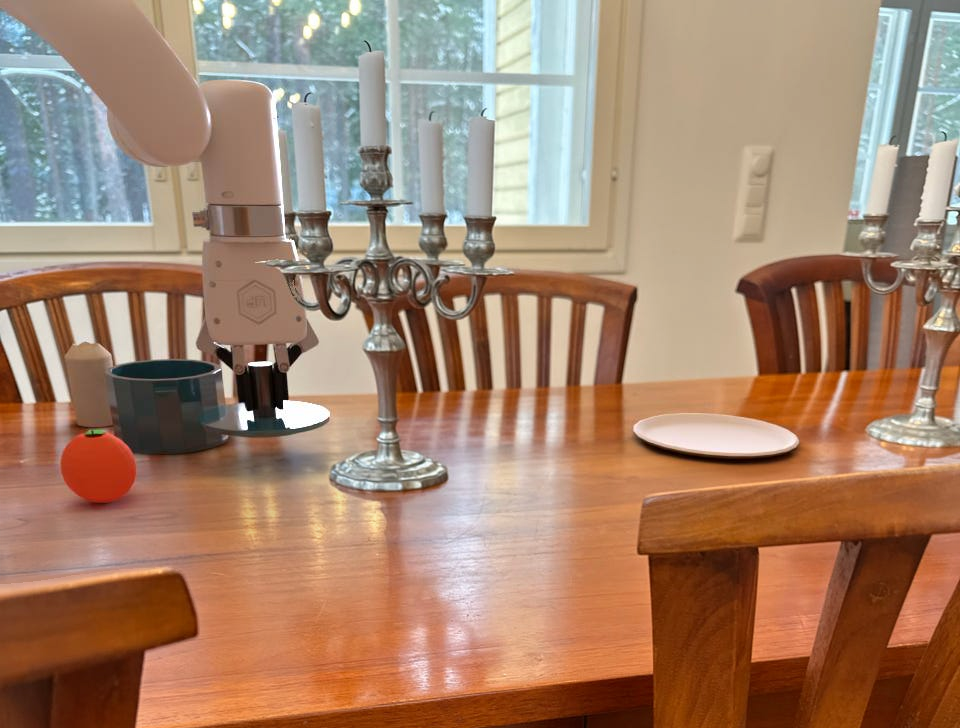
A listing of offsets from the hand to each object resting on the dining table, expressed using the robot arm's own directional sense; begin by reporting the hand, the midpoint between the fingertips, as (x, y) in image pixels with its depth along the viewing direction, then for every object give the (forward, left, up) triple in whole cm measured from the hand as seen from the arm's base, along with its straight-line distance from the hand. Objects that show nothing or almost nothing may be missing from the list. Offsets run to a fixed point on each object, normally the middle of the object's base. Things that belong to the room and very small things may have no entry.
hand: (264, 406), depth 98 cm
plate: (+56, -3, -7) cm, 56 cm away
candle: (-19, +25, -7) cm, 32 cm away
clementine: (-17, -8, -7) cm, 20 cm away
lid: (0, 0, -1) cm, 1 cm away
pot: (-10, +14, -7) cm, 18 cm away
